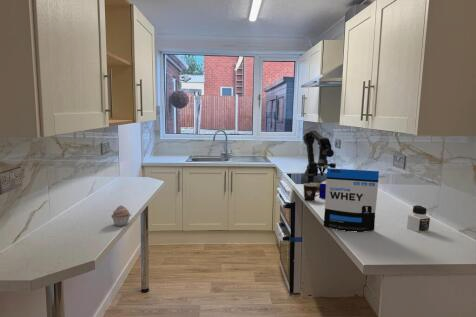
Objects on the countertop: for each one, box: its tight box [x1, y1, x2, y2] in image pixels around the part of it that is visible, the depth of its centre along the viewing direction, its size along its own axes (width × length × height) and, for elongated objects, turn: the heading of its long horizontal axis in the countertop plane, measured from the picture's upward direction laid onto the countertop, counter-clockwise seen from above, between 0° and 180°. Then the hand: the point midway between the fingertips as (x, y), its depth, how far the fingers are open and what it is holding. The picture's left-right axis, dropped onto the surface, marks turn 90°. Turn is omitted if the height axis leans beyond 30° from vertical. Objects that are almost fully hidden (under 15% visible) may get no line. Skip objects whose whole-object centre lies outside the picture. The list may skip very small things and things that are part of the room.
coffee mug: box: [303, 182, 323, 202], centre depth 223 cm, size 12×9×10 cm
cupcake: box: [110, 204, 132, 227], centre depth 172 cm, size 9×9×10 cm
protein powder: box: [323, 167, 380, 233], centre depth 171 cm, size 10×24×30 cm, turn 77°
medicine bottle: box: [406, 204, 431, 233], centre depth 173 cm, size 7×7×12 cm
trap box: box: [311, 182, 321, 193], centre depth 252 cm, size 15×18×6 cm
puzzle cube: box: [318, 180, 326, 200], centre depth 232 cm, size 10×10×10 cm
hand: (321, 176), depth 254 cm, fingers closed
